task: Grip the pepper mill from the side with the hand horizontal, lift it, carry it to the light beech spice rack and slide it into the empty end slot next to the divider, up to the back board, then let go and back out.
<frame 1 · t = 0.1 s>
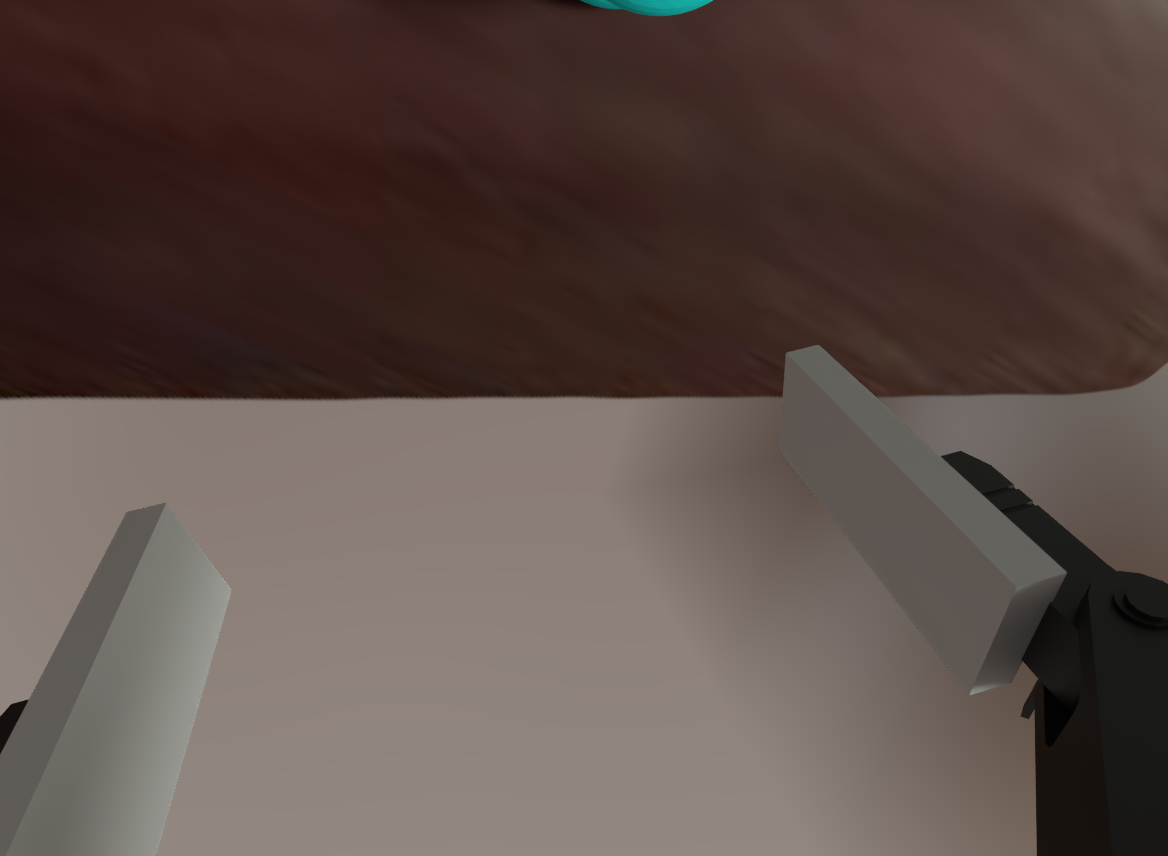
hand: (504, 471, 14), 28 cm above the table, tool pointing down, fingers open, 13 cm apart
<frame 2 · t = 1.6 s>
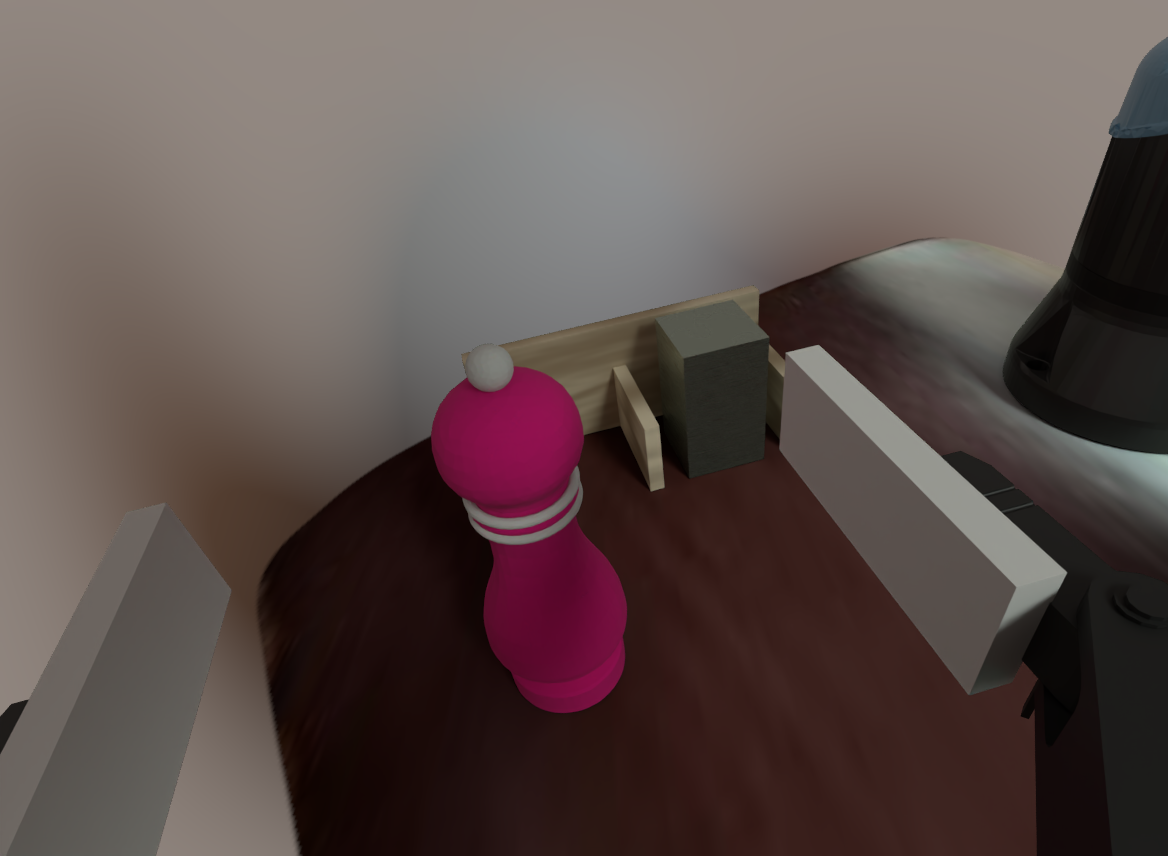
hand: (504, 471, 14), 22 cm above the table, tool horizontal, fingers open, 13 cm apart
tea tin: (711, 445, 47), on the table
pepper mill: (569, 661, 35), on the table
spice rack: (576, 480, 46), on the table
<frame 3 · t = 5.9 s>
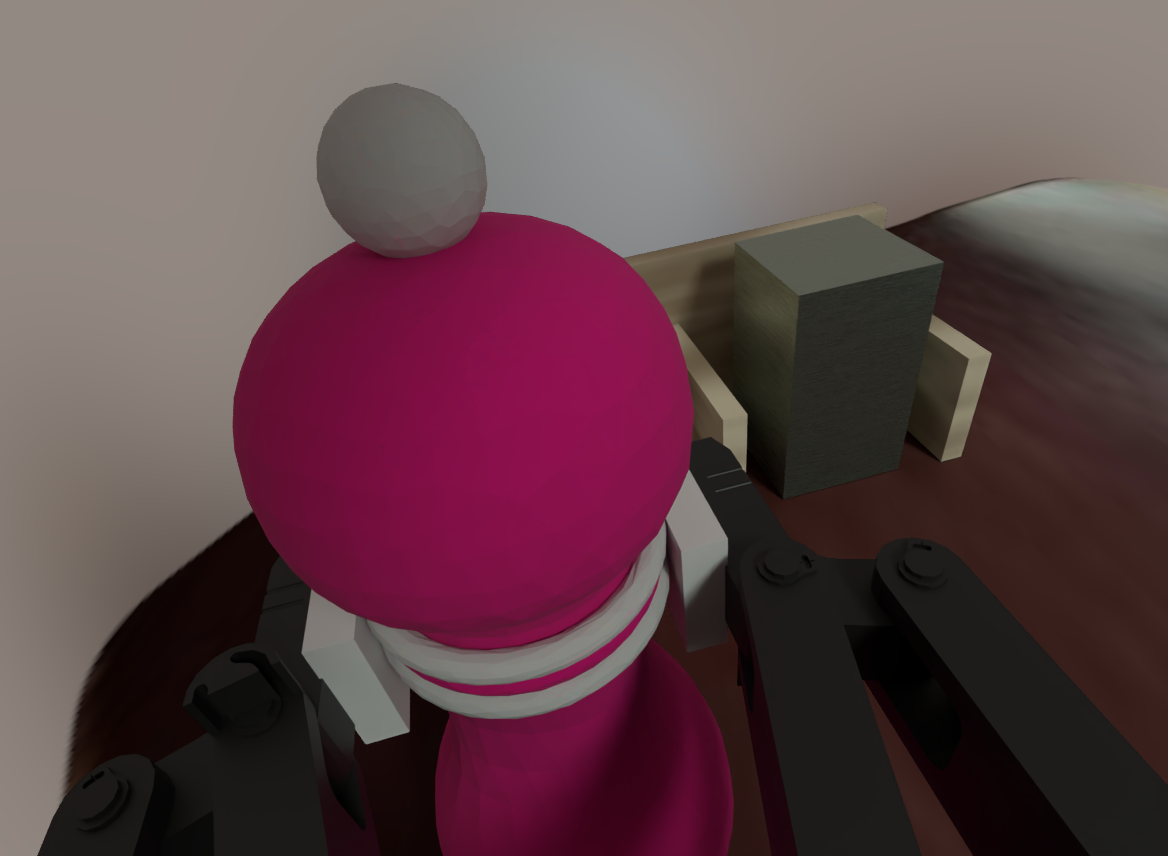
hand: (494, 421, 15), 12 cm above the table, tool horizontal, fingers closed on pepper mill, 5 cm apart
tea tin: (810, 447, 31), on the table
pepper mill: (605, 853, 19), on the table, touching gripper
spice rack: (602, 501, 30), on the table
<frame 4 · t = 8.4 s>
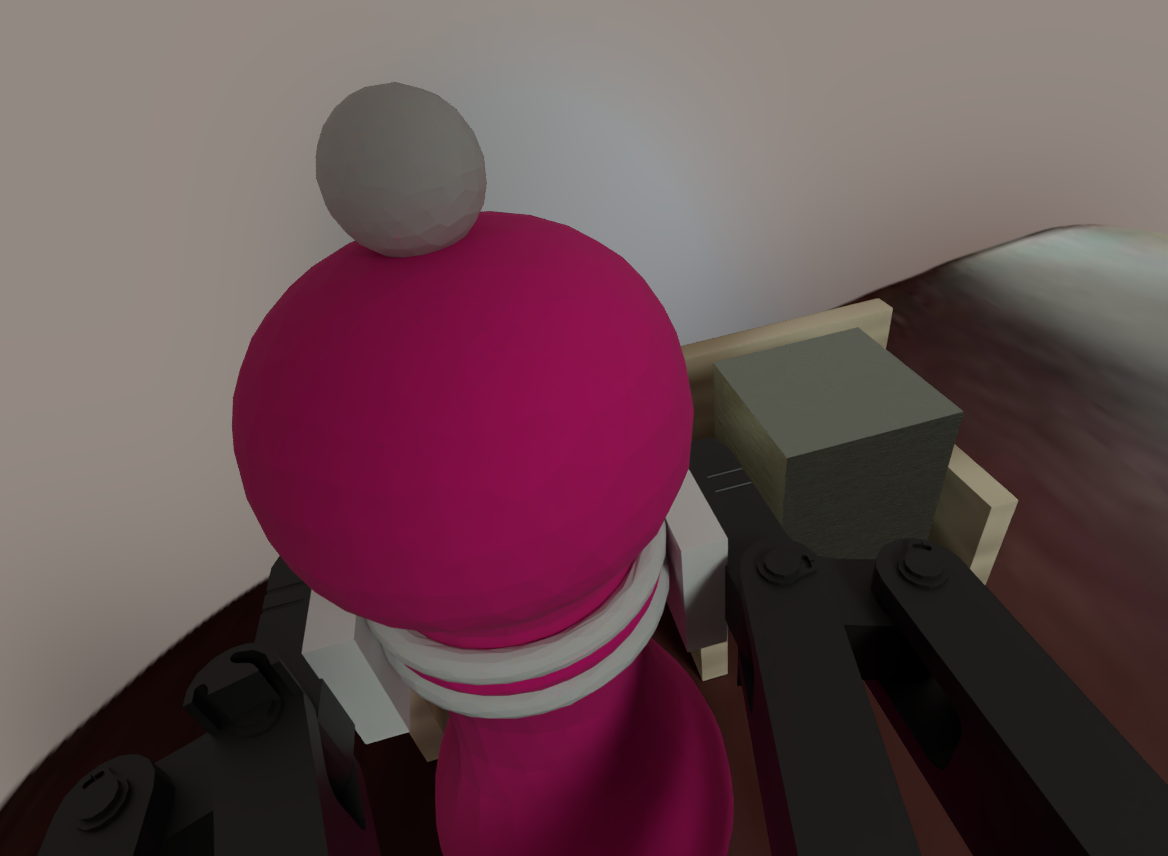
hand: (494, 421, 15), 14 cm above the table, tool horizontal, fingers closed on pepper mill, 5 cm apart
tea tin: (804, 579, 27), on the table
pepper mill: (605, 852, 19), point 2 cm above the table, touching gripper
spice rack: (565, 648, 26), on the table
when the fingers open (13 cm above the table, at t = 10.8 s): pepper mill moves 1 cm, on the table.
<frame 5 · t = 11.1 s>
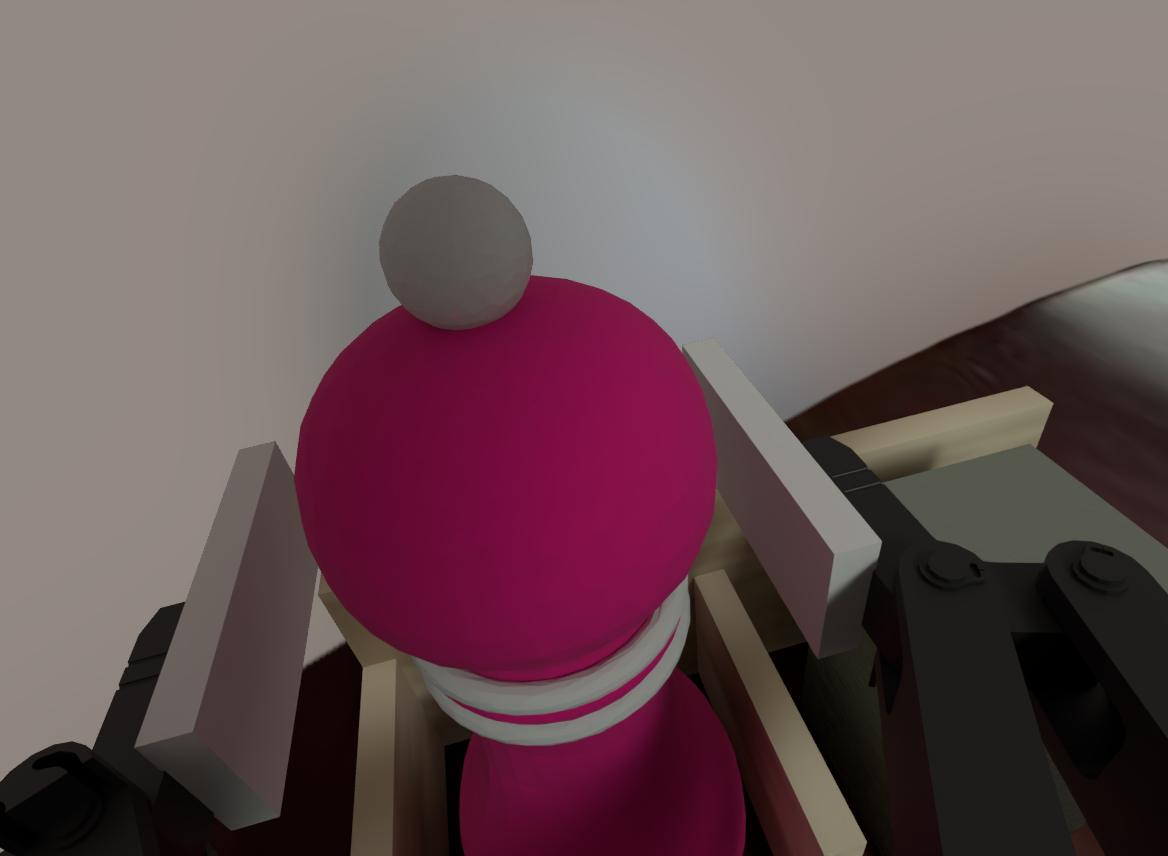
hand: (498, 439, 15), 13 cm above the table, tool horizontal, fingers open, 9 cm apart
tea tin: (926, 760, 20), on the table
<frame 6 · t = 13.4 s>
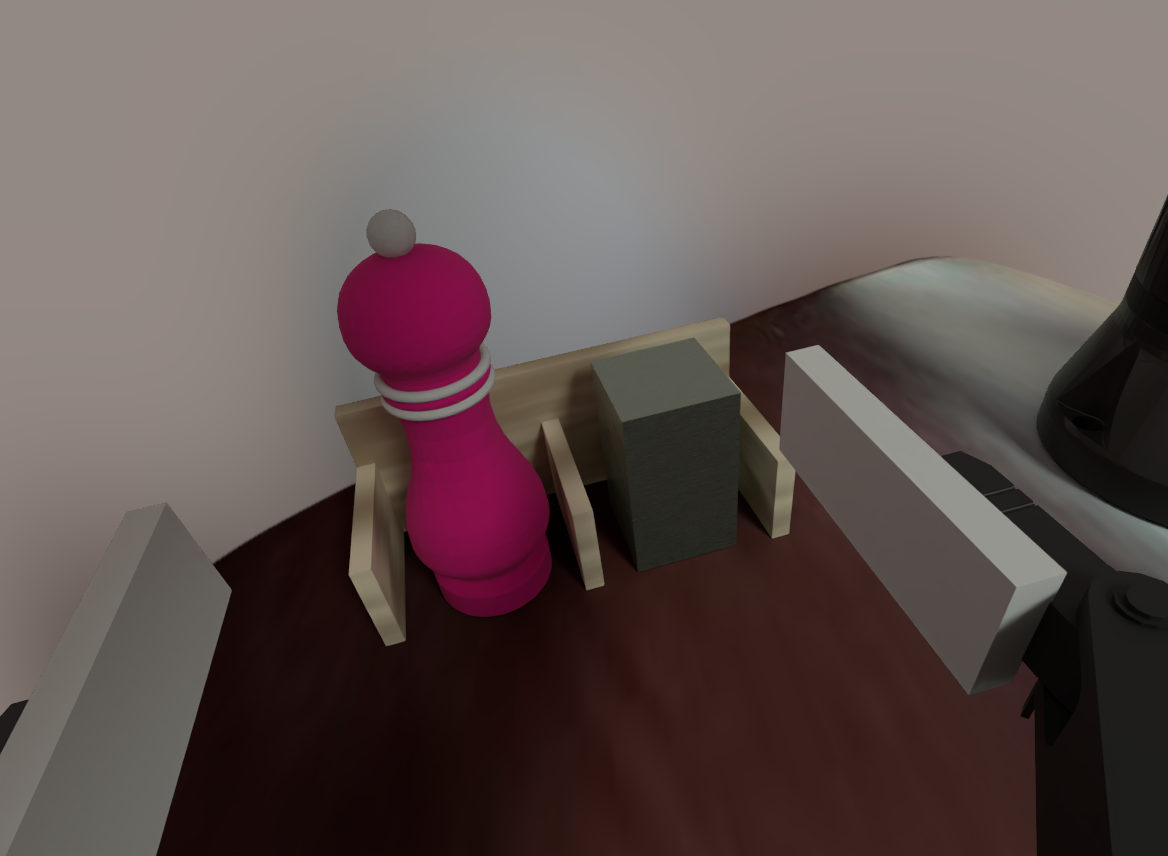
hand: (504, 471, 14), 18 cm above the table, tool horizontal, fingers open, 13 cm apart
tea tin: (669, 523, 36), on the table
pepper mill: (497, 573, 35), on the table
spice rack: (490, 572, 35), on the table
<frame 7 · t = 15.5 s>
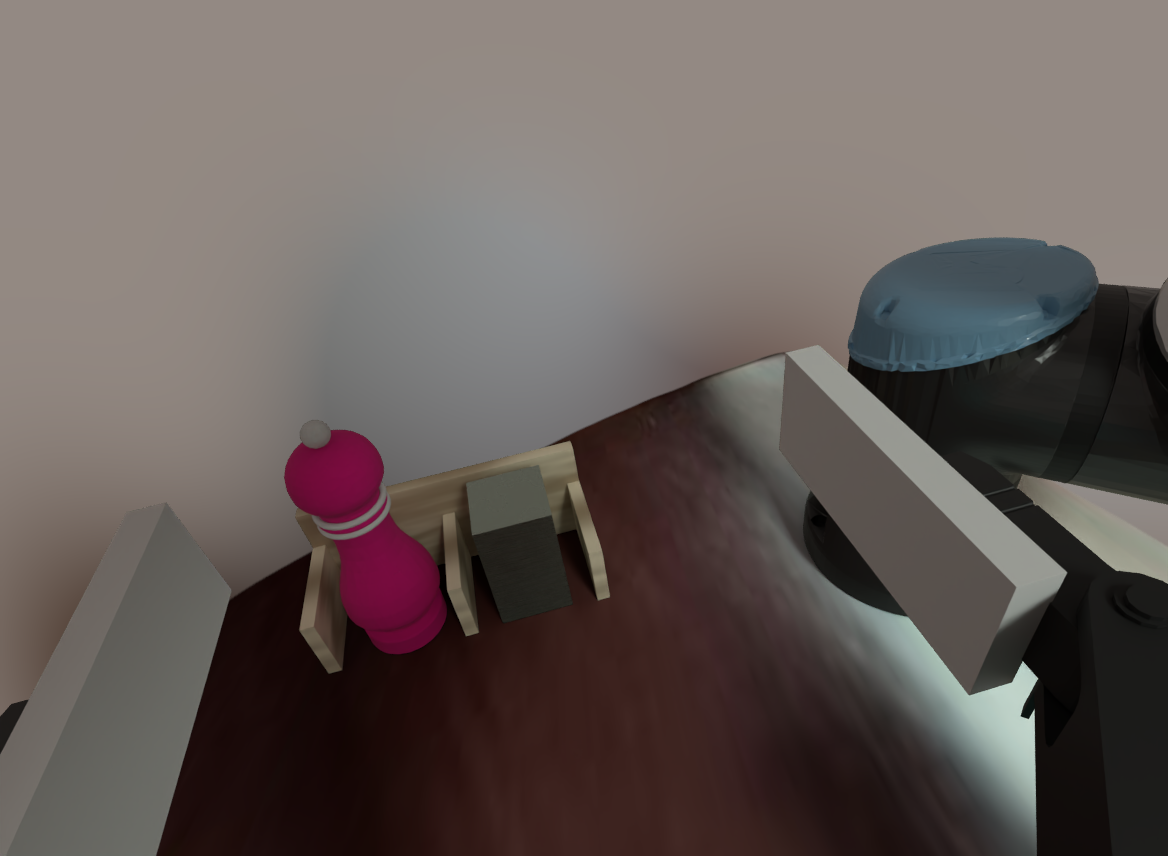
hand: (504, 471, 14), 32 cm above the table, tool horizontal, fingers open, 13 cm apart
tea tin: (532, 586, 52), on the table
pepper mill: (409, 621, 51), on the table
spice rack: (404, 620, 51), on the table
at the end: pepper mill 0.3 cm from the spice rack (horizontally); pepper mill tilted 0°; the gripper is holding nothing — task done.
